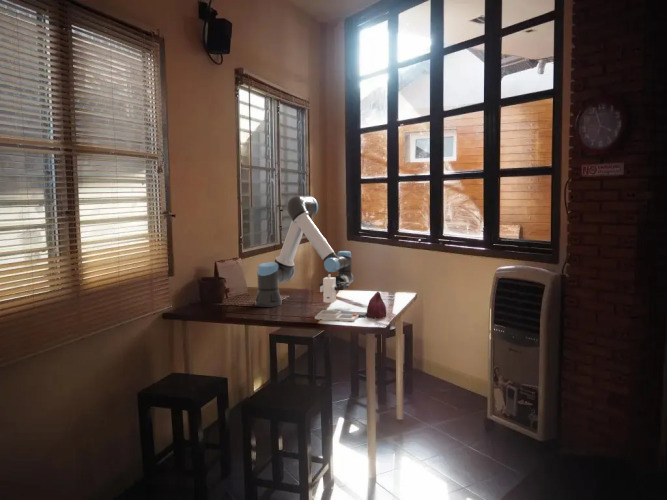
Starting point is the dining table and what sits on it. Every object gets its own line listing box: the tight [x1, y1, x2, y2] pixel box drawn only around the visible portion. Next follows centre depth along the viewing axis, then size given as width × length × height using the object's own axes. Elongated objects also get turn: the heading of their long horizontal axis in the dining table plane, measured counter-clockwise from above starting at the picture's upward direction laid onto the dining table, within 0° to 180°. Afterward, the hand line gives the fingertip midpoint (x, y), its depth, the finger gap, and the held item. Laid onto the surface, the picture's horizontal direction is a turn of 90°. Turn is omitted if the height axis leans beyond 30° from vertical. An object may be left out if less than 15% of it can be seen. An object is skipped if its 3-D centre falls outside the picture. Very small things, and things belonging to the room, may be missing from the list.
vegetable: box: [366, 291, 387, 319], centre depth 259 cm, size 10×10×15 cm
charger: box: [322, 273, 337, 304], centre depth 256 cm, size 5×5×14 cm
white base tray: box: [314, 309, 360, 322], centre depth 256 cm, size 20×10×3 cm, turn 73°
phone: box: [340, 310, 367, 318], centre depth 263 cm, size 7×14×1 cm, turn 73°
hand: (326, 289), depth 251 cm, fingers closed on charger, 5 cm apart
